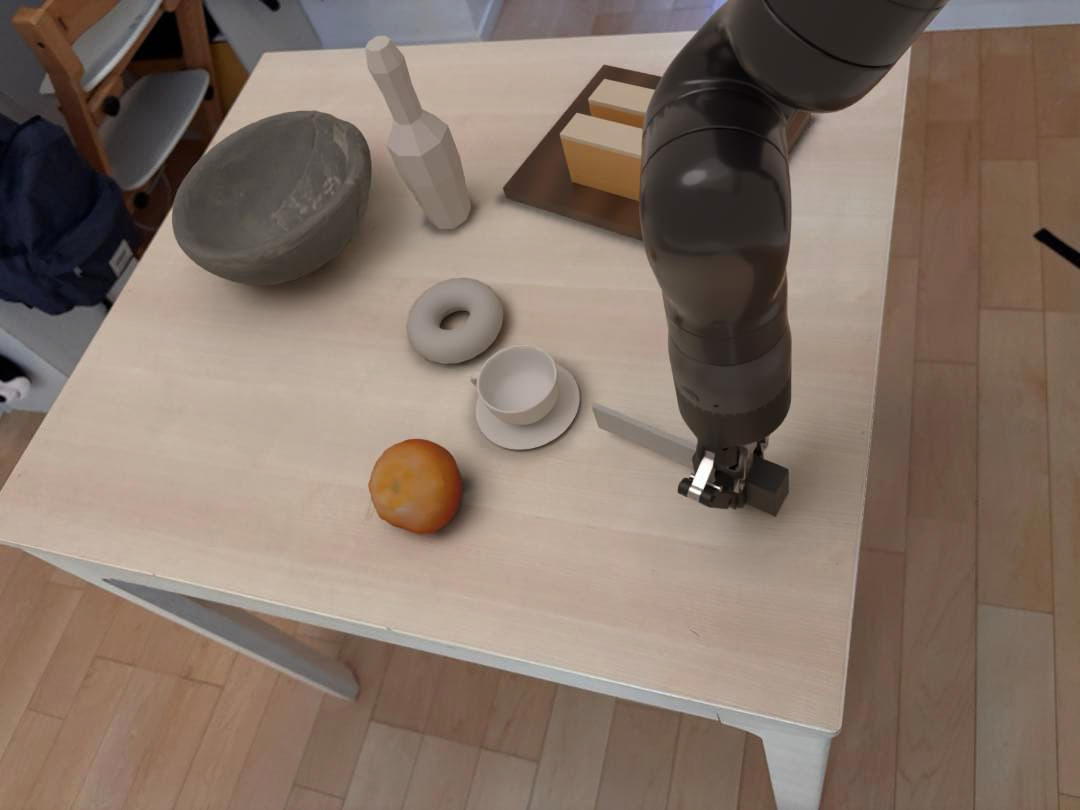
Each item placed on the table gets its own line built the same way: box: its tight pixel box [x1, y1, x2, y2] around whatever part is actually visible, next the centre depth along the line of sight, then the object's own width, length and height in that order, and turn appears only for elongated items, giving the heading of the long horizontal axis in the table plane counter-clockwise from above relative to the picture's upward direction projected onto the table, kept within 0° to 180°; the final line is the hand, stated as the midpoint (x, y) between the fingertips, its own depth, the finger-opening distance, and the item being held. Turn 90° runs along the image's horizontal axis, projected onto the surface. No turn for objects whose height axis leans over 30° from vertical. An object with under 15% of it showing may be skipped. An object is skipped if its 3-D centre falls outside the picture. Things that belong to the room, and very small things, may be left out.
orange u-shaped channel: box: [560, 79, 655, 201], centre depth 90 cm, size 12×9×7 cm
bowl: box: [171, 110, 373, 286], centre depth 97 cm, size 23×22×10 cm
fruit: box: [367, 438, 464, 535], centre depth 75 cm, size 8×8×8 cm
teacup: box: [469, 344, 581, 450], centre depth 79 cm, size 10×10×5 cm
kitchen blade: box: [591, 402, 790, 517], centre depth 70 cm, size 17×2×4 cm, turn 57°
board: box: [502, 64, 812, 242], centre depth 94 cm, size 26×22×2 cm
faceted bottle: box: [364, 35, 472, 230], centre depth 89 cm, size 6×6×22 cm
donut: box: [405, 277, 504, 365], centre depth 87 cm, size 10×4×10 cm
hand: (741, 485), depth 69 cm, fingers closed on kitchen blade, 2 cm apart
